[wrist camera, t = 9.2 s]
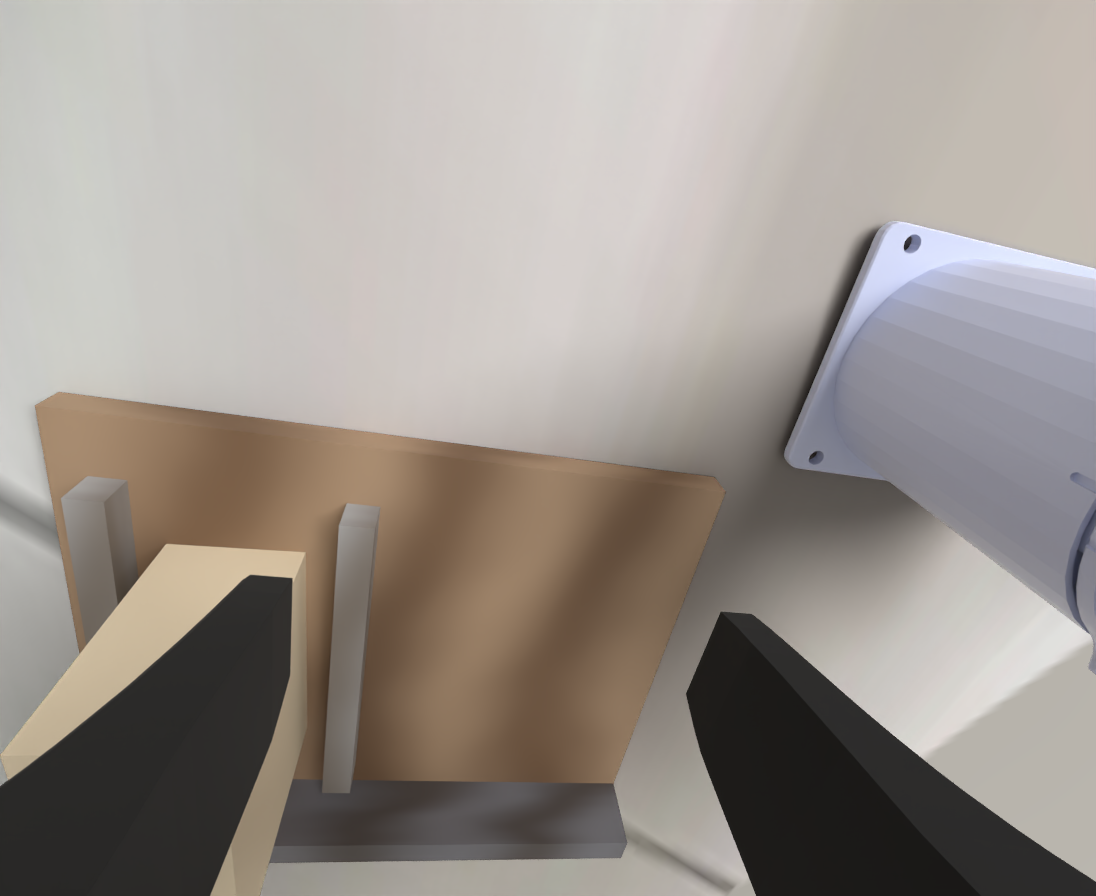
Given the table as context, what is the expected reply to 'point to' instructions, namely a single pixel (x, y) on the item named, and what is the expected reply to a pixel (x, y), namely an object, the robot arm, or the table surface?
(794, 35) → the table surface
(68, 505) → the shelf
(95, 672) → the carton
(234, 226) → the table surface
